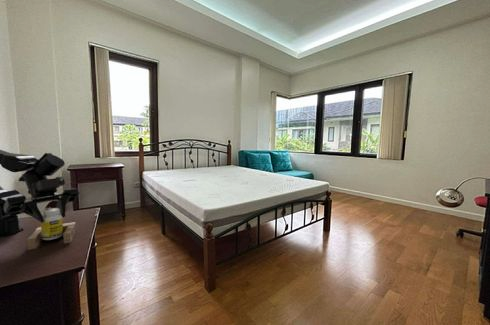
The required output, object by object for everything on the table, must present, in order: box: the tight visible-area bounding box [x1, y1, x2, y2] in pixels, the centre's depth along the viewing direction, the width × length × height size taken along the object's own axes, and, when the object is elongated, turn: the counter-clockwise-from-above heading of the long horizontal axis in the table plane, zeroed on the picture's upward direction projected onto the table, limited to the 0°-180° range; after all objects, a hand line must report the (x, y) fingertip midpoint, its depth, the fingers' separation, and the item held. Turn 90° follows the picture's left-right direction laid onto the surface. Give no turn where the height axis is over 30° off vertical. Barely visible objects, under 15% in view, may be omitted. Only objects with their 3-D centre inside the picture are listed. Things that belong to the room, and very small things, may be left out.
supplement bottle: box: [40, 208, 64, 241], centre depth 70 cm, size 5×5×10 cm
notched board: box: [26, 221, 77, 251], centre depth 72 cm, size 10×10×4 cm
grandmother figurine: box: [44, 192, 61, 215], centre depth 87 cm, size 8×4×13 cm, turn 172°
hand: (53, 219), depth 70 cm, fingers closed on supplement bottle, 5 cm apart
